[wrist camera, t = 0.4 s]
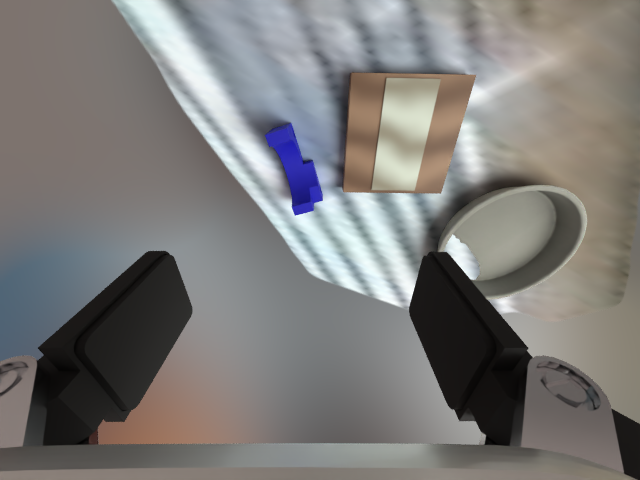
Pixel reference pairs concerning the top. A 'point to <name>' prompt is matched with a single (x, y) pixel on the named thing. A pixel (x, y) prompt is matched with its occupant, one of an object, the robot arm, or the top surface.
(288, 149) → the blue curved stepped block
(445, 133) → the mounting board
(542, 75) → the top surface
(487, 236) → the cake pan
